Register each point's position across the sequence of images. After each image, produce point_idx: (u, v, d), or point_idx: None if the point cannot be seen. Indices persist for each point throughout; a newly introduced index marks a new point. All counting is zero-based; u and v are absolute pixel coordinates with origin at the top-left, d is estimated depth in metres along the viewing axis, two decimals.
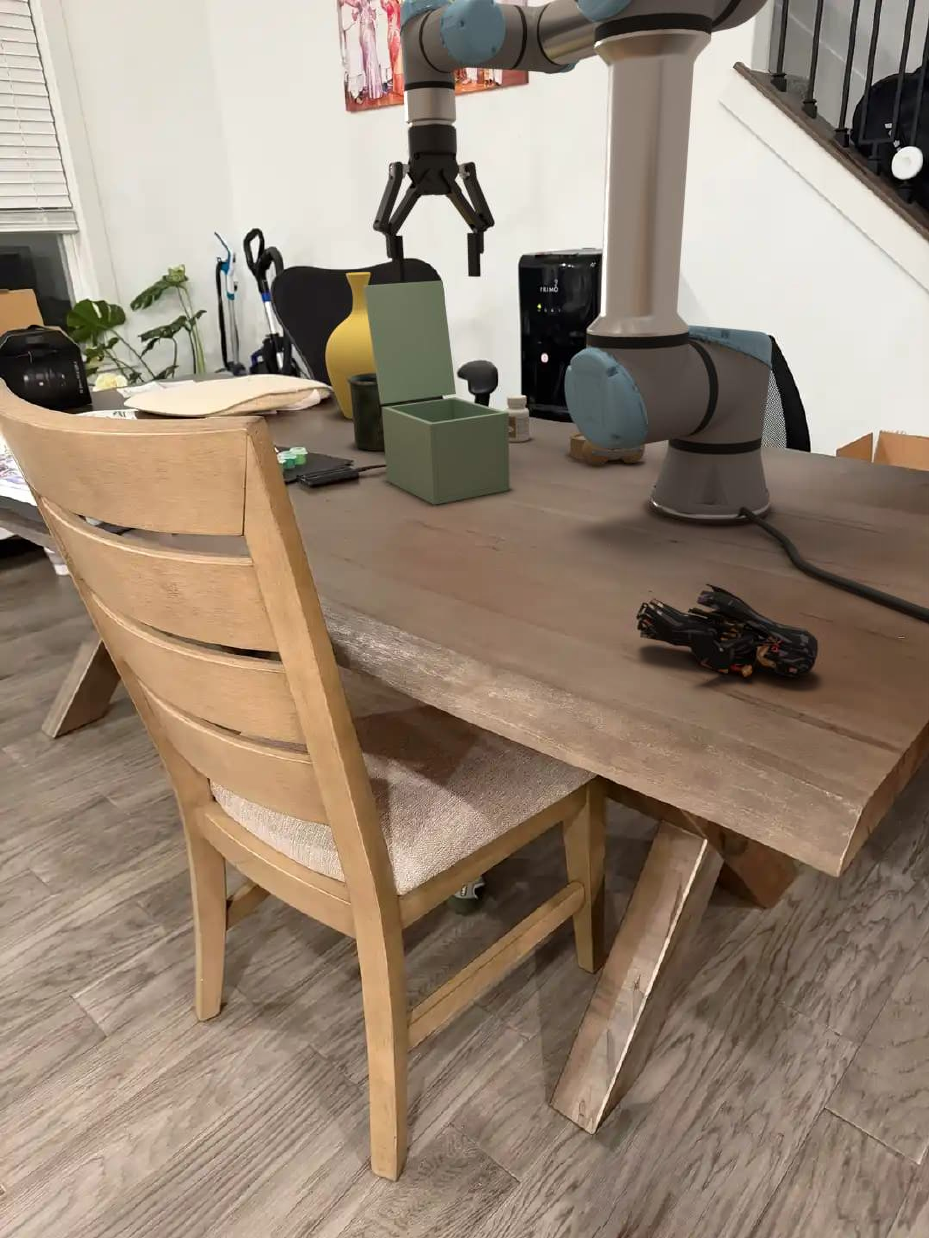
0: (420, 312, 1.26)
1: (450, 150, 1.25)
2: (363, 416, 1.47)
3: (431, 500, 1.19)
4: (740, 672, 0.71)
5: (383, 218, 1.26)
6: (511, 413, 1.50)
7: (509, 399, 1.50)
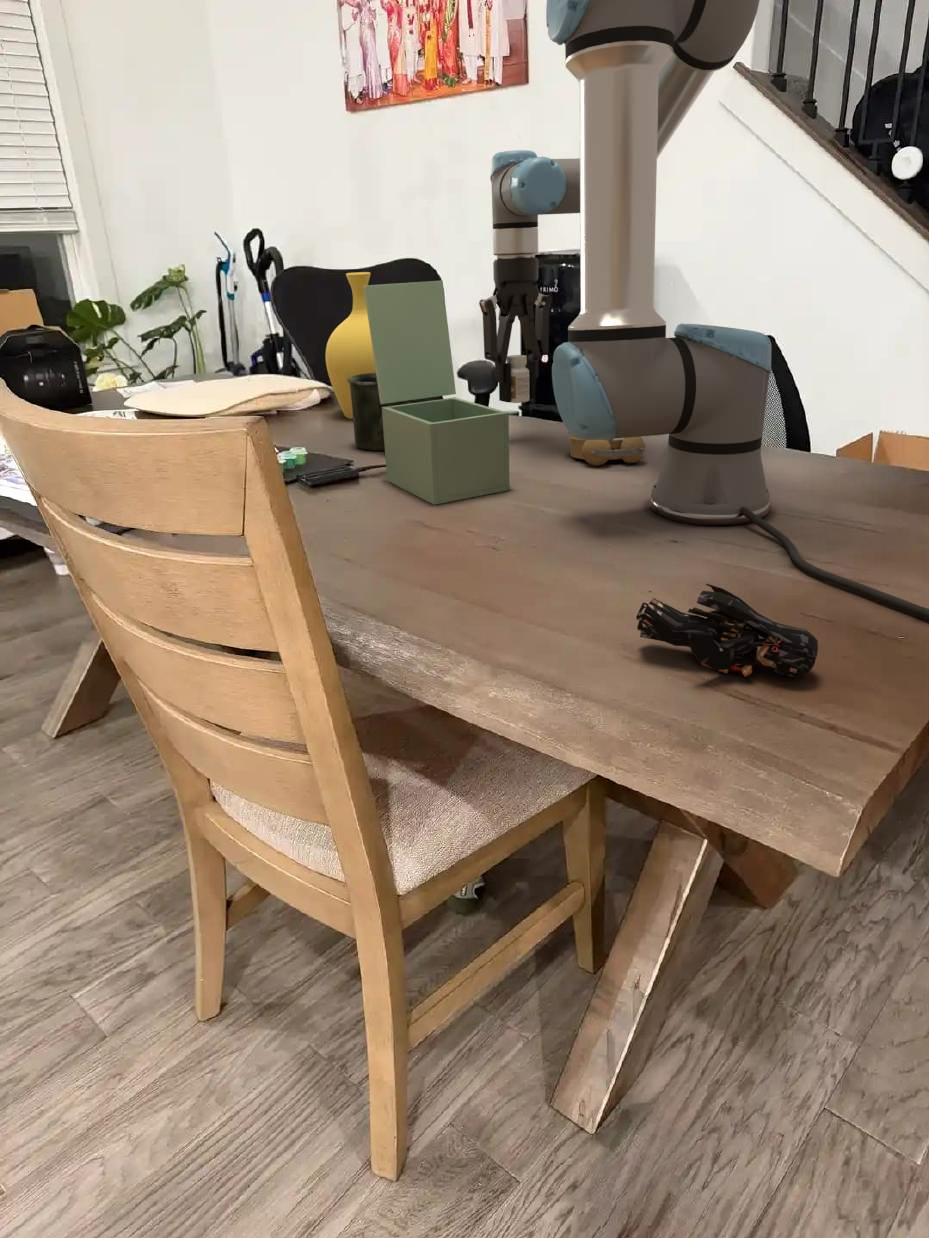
0: (420, 312, 1.26)
1: (533, 279, 1.40)
2: (363, 416, 1.47)
3: (431, 500, 1.19)
4: (740, 672, 0.71)
5: (493, 350, 1.43)
6: (511, 373, 1.46)
7: (509, 358, 1.46)
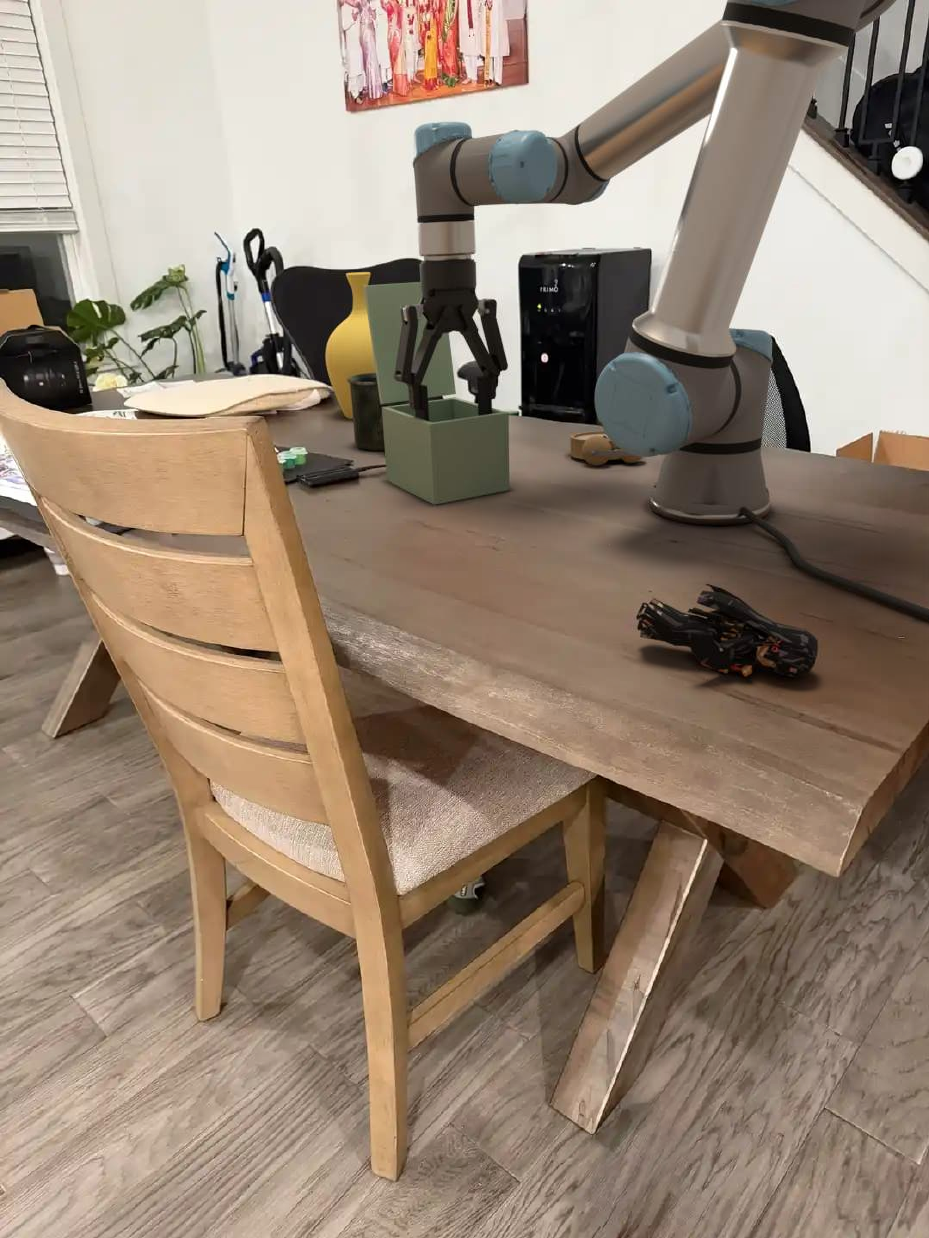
0: None
1: (469, 286, 1.11)
2: (363, 416, 1.47)
3: (431, 500, 1.19)
4: (740, 672, 0.71)
5: (405, 369, 1.13)
6: None
7: None
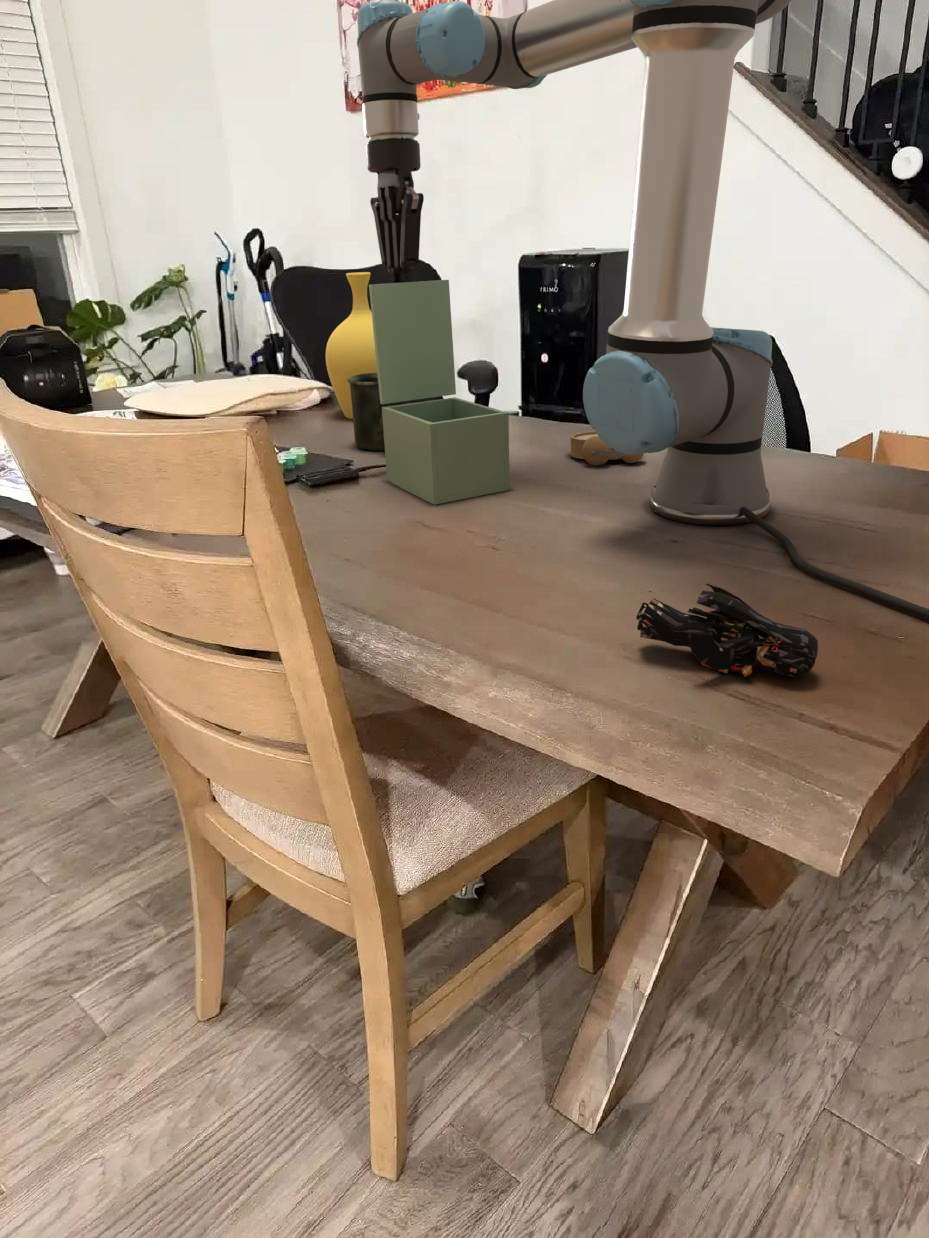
0: (424, 312, 1.25)
1: (375, 167, 1.16)
2: (363, 416, 1.47)
3: (431, 500, 1.19)
4: (740, 672, 0.71)
5: (381, 255, 1.26)
6: None
7: None
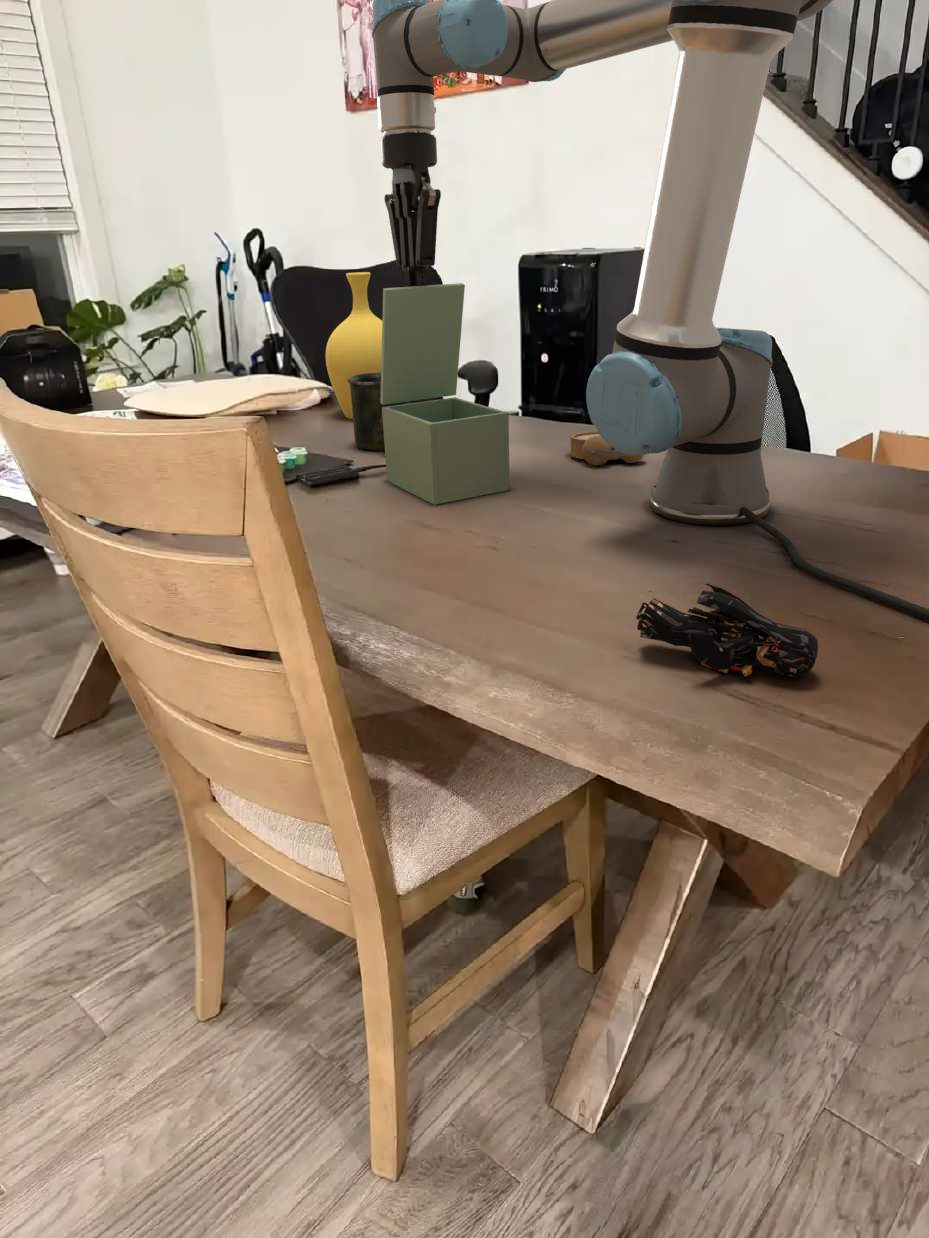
0: (436, 316, 1.22)
1: (390, 163, 1.12)
2: (363, 416, 1.47)
3: (431, 500, 1.19)
4: (740, 672, 0.71)
5: (396, 254, 1.22)
6: None
7: None
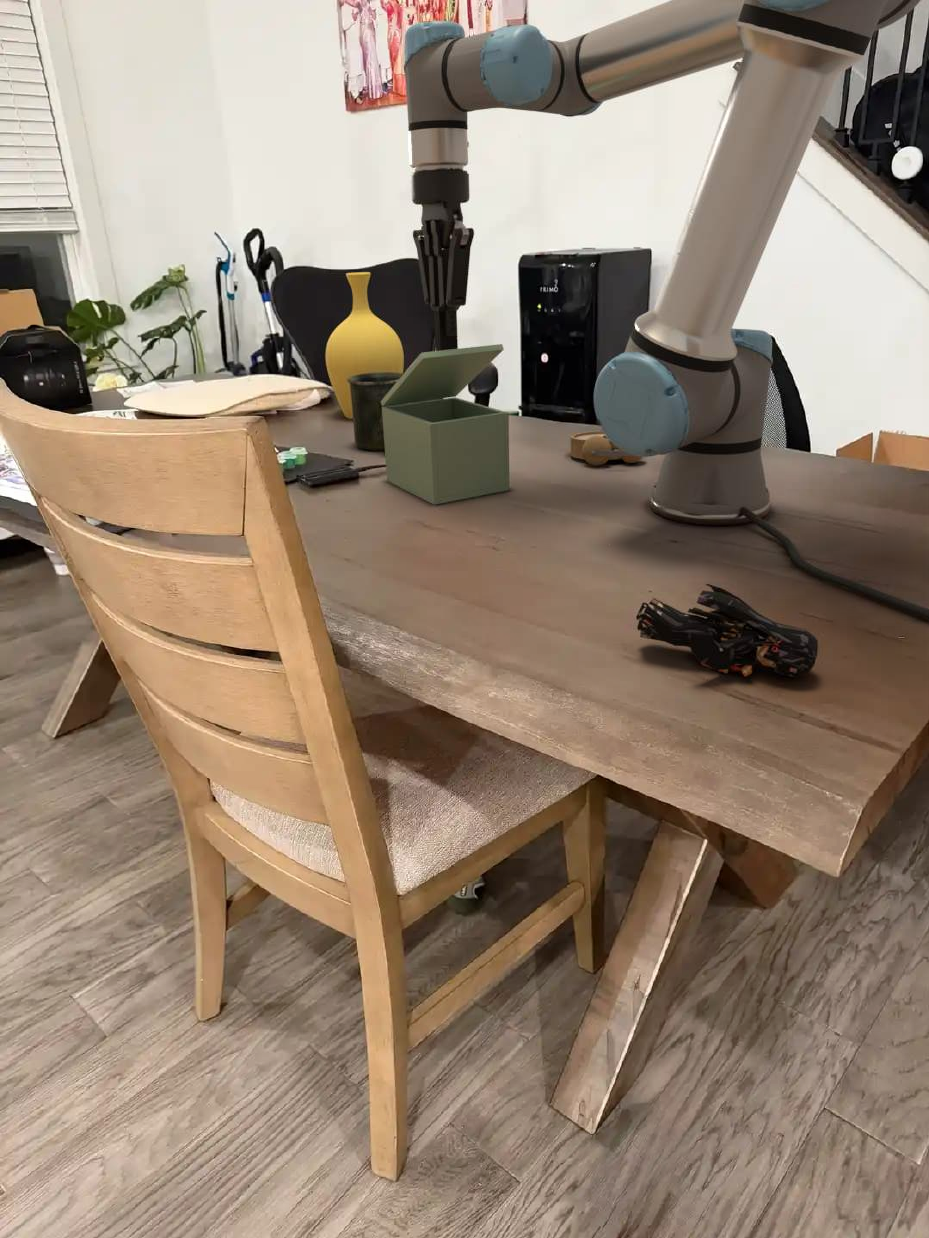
0: (463, 365, 1.18)
1: (421, 200, 1.07)
2: (363, 416, 1.47)
3: (431, 500, 1.19)
4: (740, 672, 0.71)
5: (424, 292, 1.17)
6: None
7: None
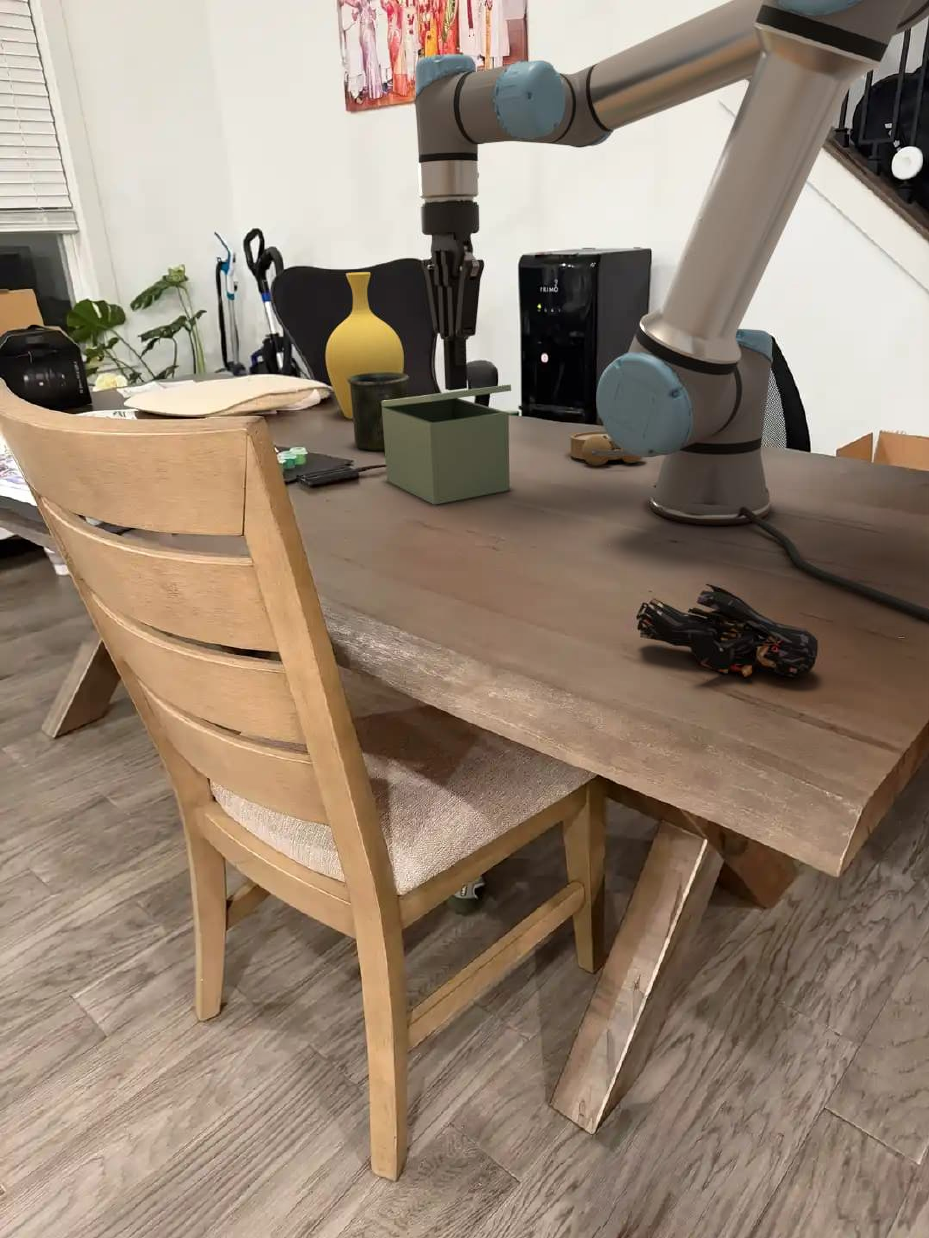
0: None
1: (431, 231, 1.07)
2: (363, 416, 1.47)
3: (431, 500, 1.19)
4: (740, 672, 0.71)
5: (433, 321, 1.17)
6: None
7: None
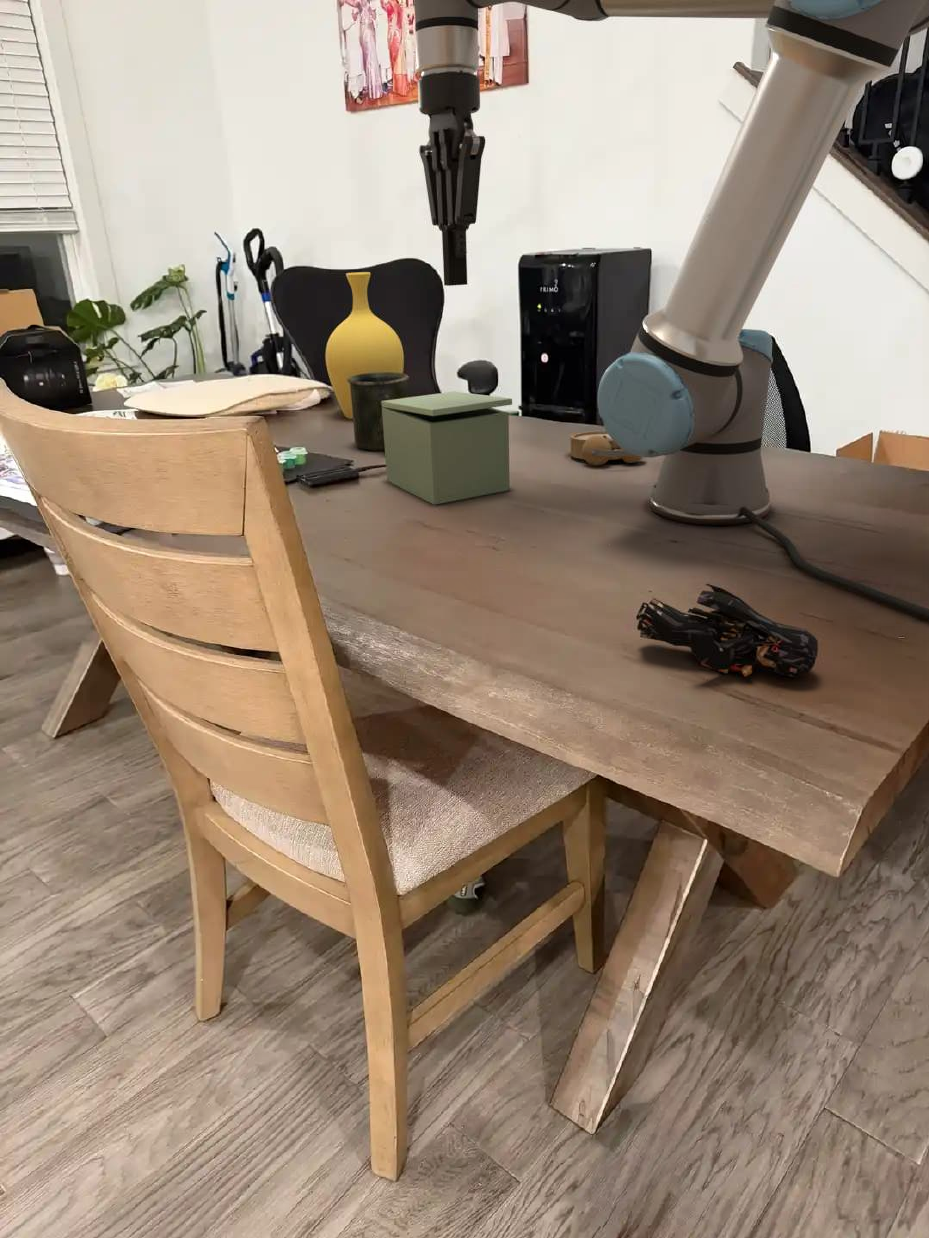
0: None
1: (429, 106, 1.01)
2: (363, 416, 1.47)
3: (431, 500, 1.19)
4: (740, 672, 0.71)
5: (431, 212, 1.10)
6: None
7: None
